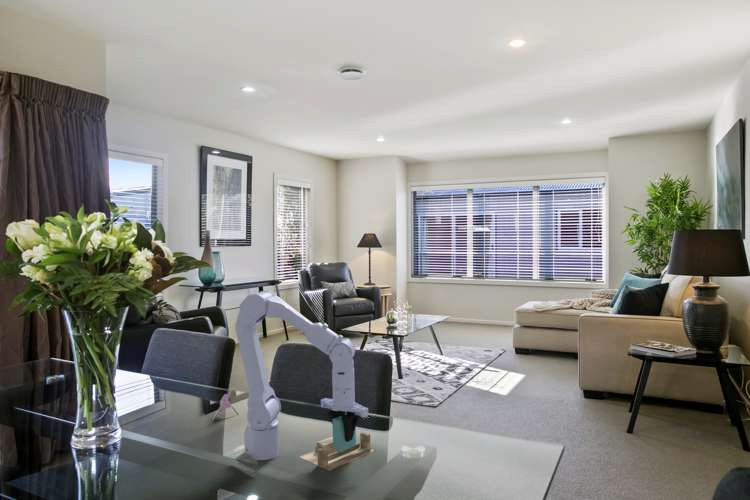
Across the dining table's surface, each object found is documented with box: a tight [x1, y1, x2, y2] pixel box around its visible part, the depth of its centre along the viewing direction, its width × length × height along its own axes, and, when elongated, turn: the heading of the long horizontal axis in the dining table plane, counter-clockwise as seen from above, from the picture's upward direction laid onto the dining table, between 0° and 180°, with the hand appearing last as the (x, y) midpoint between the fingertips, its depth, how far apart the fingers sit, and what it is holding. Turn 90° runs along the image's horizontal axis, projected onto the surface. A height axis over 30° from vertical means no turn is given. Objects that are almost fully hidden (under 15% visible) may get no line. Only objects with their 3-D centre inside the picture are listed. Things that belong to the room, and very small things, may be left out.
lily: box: [211, 385, 240, 422], centre depth 170 cm, size 12×12×10 cm
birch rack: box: [299, 431, 375, 472], centre depth 136 cm, size 12×16×5 cm
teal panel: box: [332, 416, 357, 452], centre depth 134 cm, size 2×6×8 cm, turn 140°
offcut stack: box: [314, 436, 334, 454], centre depth 138 cm, size 4×7×2 cm, turn 135°
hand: (344, 439), depth 134 cm, fingers closed on teal panel, 2 cm apart
